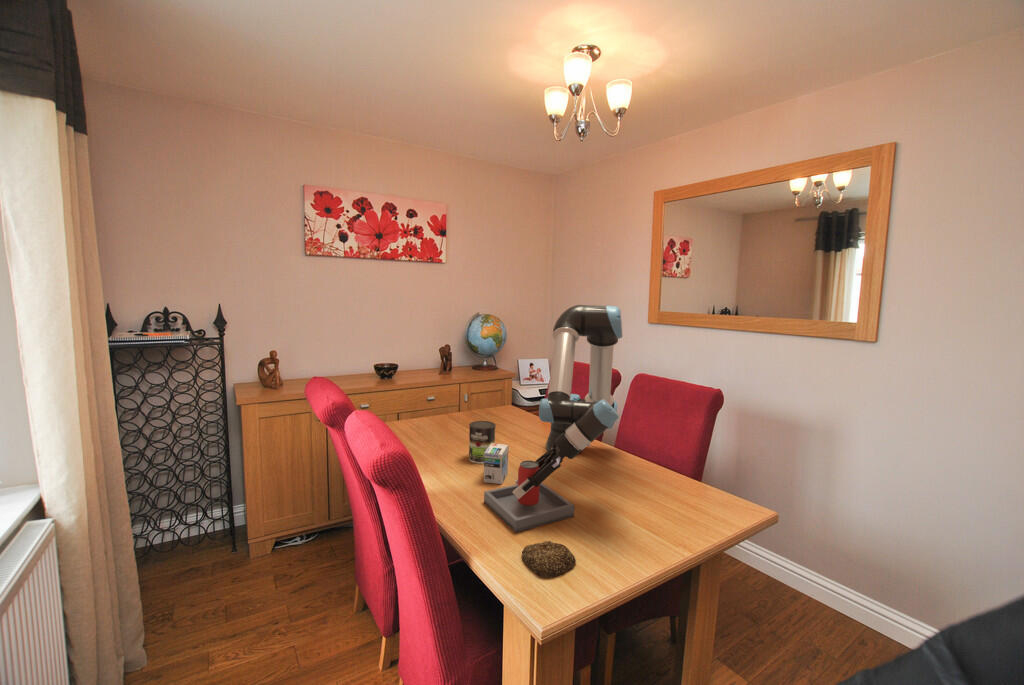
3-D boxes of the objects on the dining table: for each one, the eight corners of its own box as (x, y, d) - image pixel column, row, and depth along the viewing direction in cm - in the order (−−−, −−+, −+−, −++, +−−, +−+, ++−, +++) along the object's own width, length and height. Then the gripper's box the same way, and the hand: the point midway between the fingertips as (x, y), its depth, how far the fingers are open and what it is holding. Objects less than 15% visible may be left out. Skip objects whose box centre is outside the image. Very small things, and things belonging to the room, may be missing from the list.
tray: (537, 489, 150) (538, 479, 150) (574, 516, 133) (574, 505, 132) (484, 502, 140) (484, 491, 140) (515, 532, 123) (516, 520, 123)
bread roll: (537, 583, 103) (538, 562, 102) (515, 553, 114) (516, 535, 113) (585, 570, 108) (586, 551, 107) (559, 543, 119) (560, 526, 118)
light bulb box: (501, 484, 153) (502, 454, 152) (482, 482, 155) (483, 452, 153) (508, 472, 164) (509, 444, 162) (490, 470, 165) (491, 442, 164)
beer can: (516, 496, 139) (517, 459, 138) (537, 496, 140) (538, 459, 138) (518, 507, 133) (519, 468, 131) (540, 506, 133) (541, 468, 132)
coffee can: (490, 465, 170) (491, 429, 168) (465, 462, 172) (465, 426, 171) (497, 455, 180) (498, 421, 178) (473, 453, 182) (474, 419, 181)
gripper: (583, 462, 123) (522, 514, 127) (579, 439, 142) (527, 485, 146) (564, 443, 123) (504, 495, 127) (563, 422, 142) (511, 468, 146)
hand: (516, 490), depth 136 cm, fingers closed on beer can, 6 cm apart
